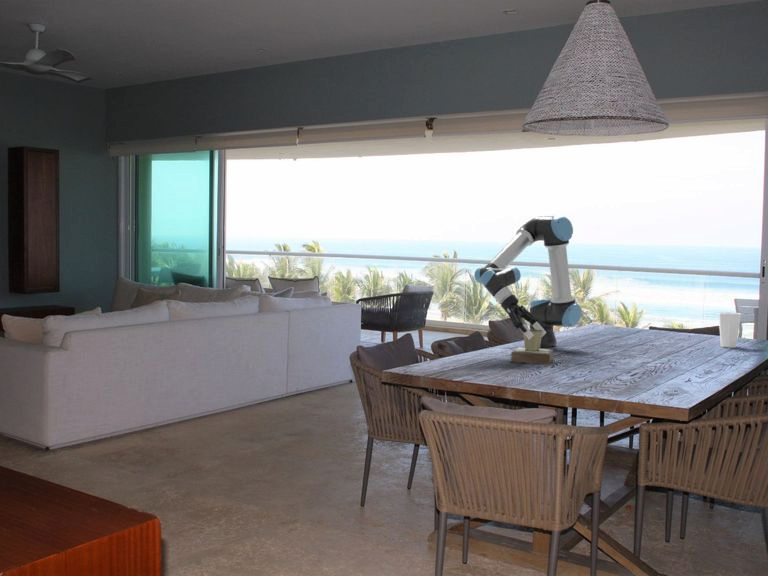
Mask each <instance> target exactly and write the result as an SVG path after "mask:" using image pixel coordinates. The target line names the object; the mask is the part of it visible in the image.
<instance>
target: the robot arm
mask: <svg viewBox="0 0 768 576" xmlns="http://www.w3.org/2000/svg"><path fill="white" fill-rule="evenodd" d="M573 234H574V228H573V223H572V222H571V221H570V219H568V217H566V216H560V215H550V216H549V215H547V216H546V215H545V216H542V215H541V216H536V217H534V218H531V219H530V220H529V221H527V222H525V224H523V225H522V226H520V228H519V229H517V230H516V233H515V236H514V237H512V239H510V241H509V242H508V243H507V244H506V245H505V246H504V247H503V248H502V249H501V250H500V251H499V252H498V253H497V254H496V255H495V256H494V257H493V258H492V259H491V261H489V262H488V263H487V264H486V265H485V266H484V267H482V266H481V267H478V268H476V270H475V271H474V275H473V277H474V280H475V282H477V283H478V284H482V285H483V287H484V288H485V289H486V291H487V292H488V293H489V294H490V295H491V296H492V297H493V298H494V300H495V302H496V303H498V304H499V305H500V306H501V308H502V309H503V311H505V312H506V314H508V317H509V318H510V321H511V322H512V324H513V326H514V327H515V328H516V329H517V330H519V329H520V332H522V334H523V333H524V334H525V336H526V337H527V338H528V339H529V340H530V339H531V338H532V337H533V336H534V335H533V334H532V332H531V331H530V330H529V329H533V330H543V331H544V332H543V335H542V338H541V344H540V348H551V347H552V346H553V347H557V346H556V345H558V344H557V343H558V342H557V338H556V335H555V330H554V327H564V328H573V327H575V326H577V325H578V324H579V322H580V320H581V318H582V307H581V306H580V304H579V303H577V302H576V298H575V296H573V295H572V290H571V280H570V279H571V277H570V271H569V261H568V251H567V246H568V245H569V243H570V240H571V239H572V237H573ZM539 241H543V245H544V247H545V248H546V249H547V251H548V252H547V253H548V261H549V270H550V278H551V279H550V281H551V288H552V298H544V299H541V298H540V299H533V300H531V301H530V306H529V311H528V309H527V308H525V307H524V306H523V304H522V305H518V303H519V301H520V300H519V299H518V298H517V297H516V295H514V293H513V291H511V289H509V286H512V285H514V284H516V283H517V282H520V280H521V277H522V276H521V275H522V273H521V271H520V270H519V268H518V267H516V266H510V264H512V263H513V262H514V261H515V260H516V259H517V257H519V255H520V254H521V253H523V251H525V249H526V248H527V247H530V246H532V245H533V244H534V243H535V242H539ZM522 318H523V319H524V320H525V321H526V322H528V323H529V328H528V326H527V325H526V324H525V323H523V320H522Z"/></svg>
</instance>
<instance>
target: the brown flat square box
mask: <svg viewBox="0 0 768 576" xmlns="http://www.w3.org/2000/svg"><path fill="white" fill-rule="evenodd" d="M510 357H511V359H510V362H511V361H513V362H512V363H523V362H526V363H528V364H541V365H542V364H543V365H545V364H546V365H550V364H551V363H552V361H553V359H554V349H550V348H540V350H539V351H529V350H525V347H516V348H515V349H514V350H512V352H511V356H510Z"/></svg>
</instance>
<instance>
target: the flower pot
mask: <svg viewBox="0 0 768 576" xmlns="http://www.w3.org/2000/svg"><path fill="white" fill-rule="evenodd" d="M528 329H529V330H530V331H531V332H532V334H533V335H534V336H533V337H532V338H531V339H530V340H529V339H528V338H527V337H526V336H525V334H524V333H523V332H522V336H523V342H524V343H523V344H524V348H525V350H529V351H539V350H540V349H541V347H540V344H541V338H542V335H543V332H544V331H543V330H533V329H530V328H528Z"/></svg>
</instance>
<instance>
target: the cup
mask: <svg viewBox="0 0 768 576" xmlns="http://www.w3.org/2000/svg"><path fill="white" fill-rule="evenodd" d="M717 314H718V325H719V338H720V339H719V340H720V347H721V348H735V349H736V348H737V343H738V338H739V331H740V324H741V318H742V313H740V312H728V311H727V312H726V311H724V312H723V311H721V312H718V313H717Z"/></svg>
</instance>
